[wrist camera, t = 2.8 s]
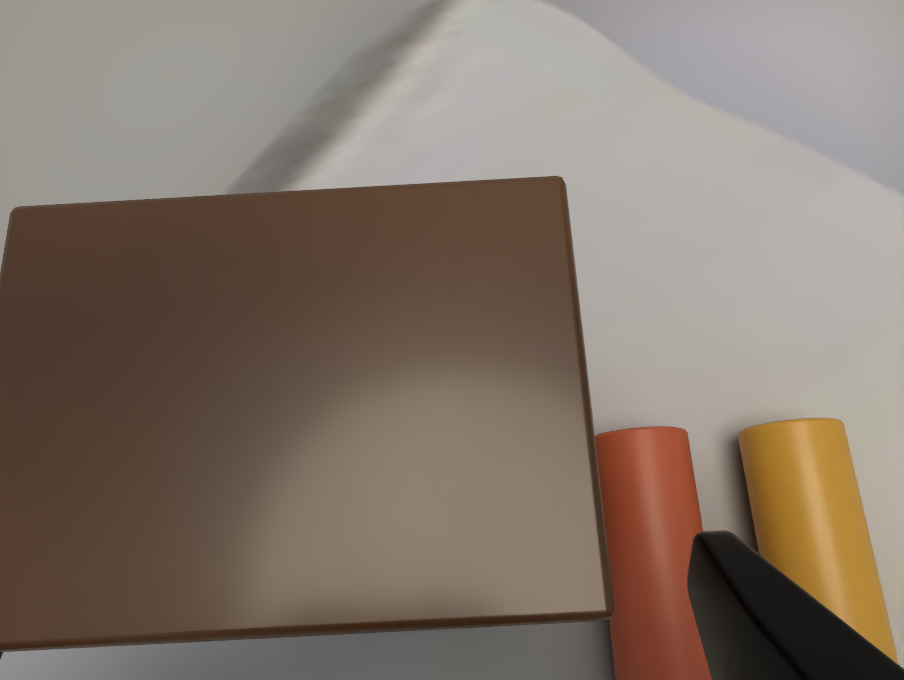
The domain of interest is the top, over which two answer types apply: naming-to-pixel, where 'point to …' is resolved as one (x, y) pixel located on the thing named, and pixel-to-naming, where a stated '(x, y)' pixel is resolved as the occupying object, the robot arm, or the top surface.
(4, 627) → the bar
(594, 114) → the top surface
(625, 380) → the top surface
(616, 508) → the twin coloured cylinders
